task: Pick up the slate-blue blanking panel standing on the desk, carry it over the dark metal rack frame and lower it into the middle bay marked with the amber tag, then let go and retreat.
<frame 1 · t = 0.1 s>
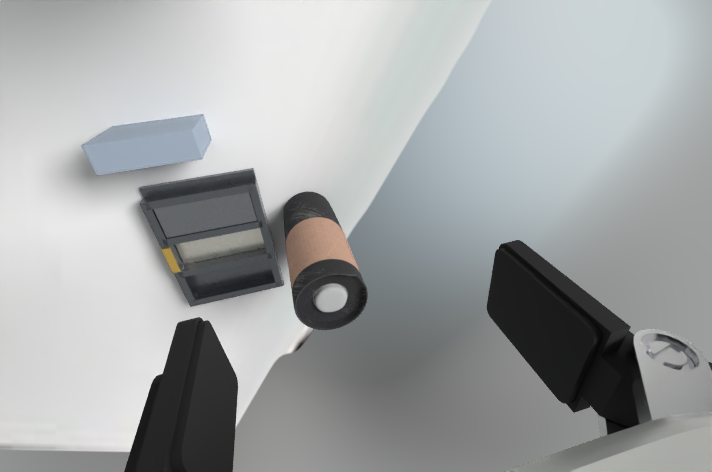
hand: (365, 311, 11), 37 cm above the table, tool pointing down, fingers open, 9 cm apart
panel: (164, 132, 39), on the table
travel mug: (307, 212, 49), on the table
rack: (222, 241, 48), on the table
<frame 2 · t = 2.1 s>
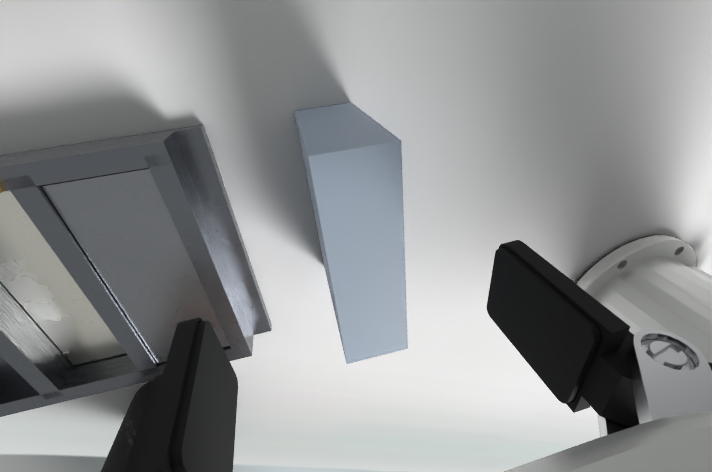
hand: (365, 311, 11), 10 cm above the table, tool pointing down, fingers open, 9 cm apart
panel: (335, 194, 20), on the table
travel mug: (185, 400, 26), on the table
rack: (64, 278, 19), on the table
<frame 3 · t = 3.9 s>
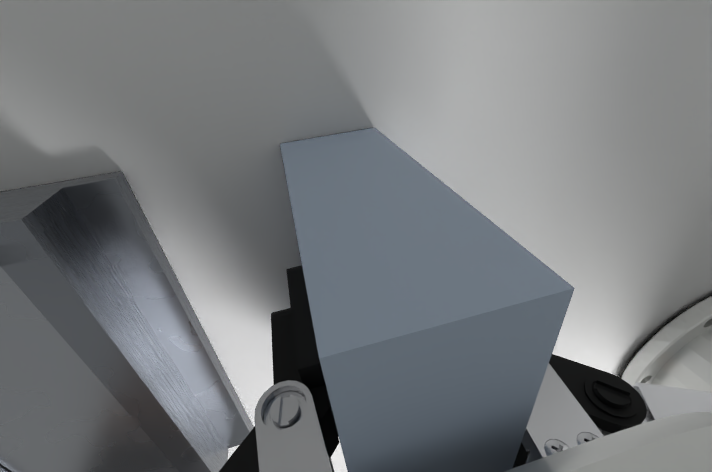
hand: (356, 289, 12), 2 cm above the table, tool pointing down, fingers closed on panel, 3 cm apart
panel: (346, 262, 13), on the table, touching gripper
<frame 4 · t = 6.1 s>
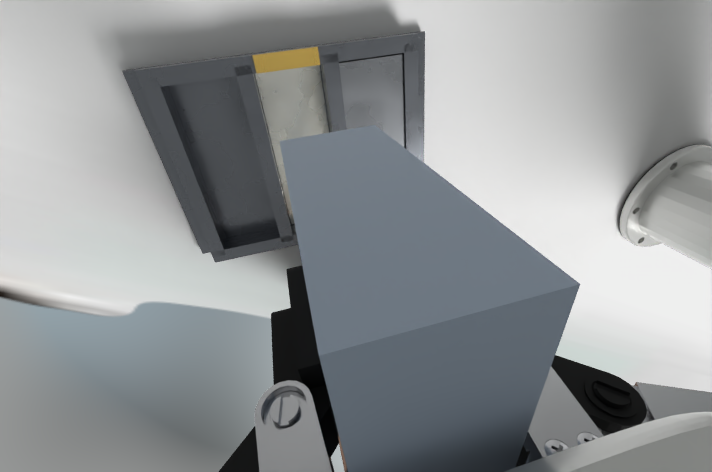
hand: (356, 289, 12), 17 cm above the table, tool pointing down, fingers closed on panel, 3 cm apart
panel: (346, 261, 13), point 16 cm above the table, touching gripper
rack: (302, 150, 26), on the table
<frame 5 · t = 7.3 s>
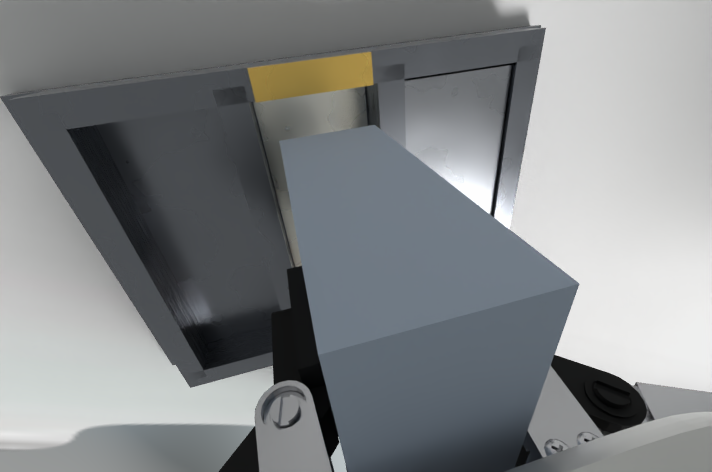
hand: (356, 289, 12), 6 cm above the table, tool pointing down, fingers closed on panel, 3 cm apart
panel: (346, 261, 13), point 4 cm above the table, touching gripper
rack: (328, 213, 16), on the table
when the fingers open (3 cm above the table, at t = 8.4 s): panel stays where it is, resting on rack.
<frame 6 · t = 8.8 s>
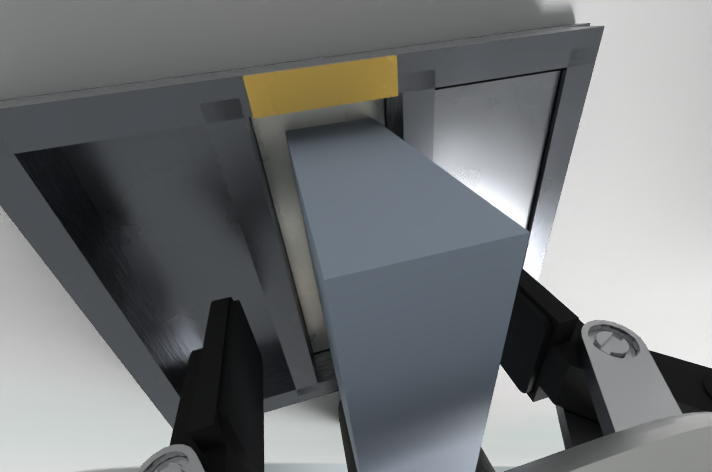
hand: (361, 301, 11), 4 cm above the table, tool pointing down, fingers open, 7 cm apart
panel: (345, 245, 14), point 1 cm above the table, touching rack
travel mug: (389, 394, 22), on the table
rack: (337, 239, 14), on the table
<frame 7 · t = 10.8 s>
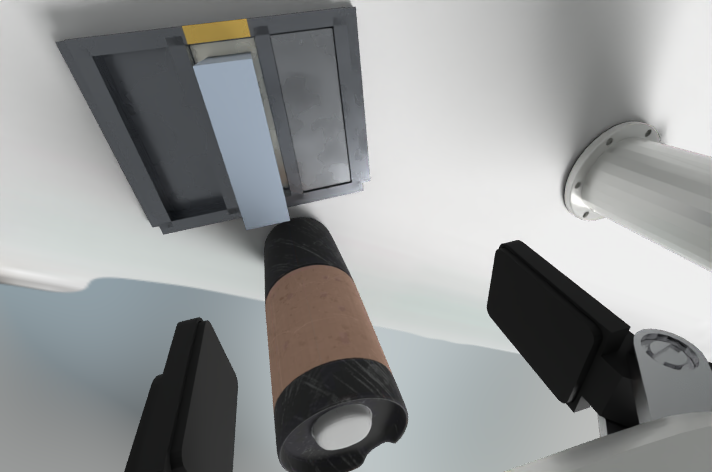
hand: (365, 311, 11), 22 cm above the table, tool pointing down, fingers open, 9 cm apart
panel: (248, 124, 26), point 1 cm above the table, touching rack
travel mug: (299, 246, 35), on the table
rack: (246, 124, 27), on the table
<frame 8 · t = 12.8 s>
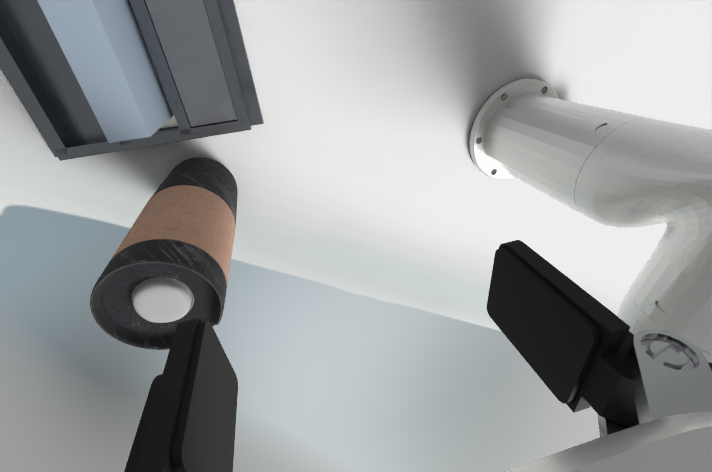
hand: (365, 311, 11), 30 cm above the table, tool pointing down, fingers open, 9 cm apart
panel: (133, 60, 29), point 1 cm above the table, touching rack
travel mug: (204, 187, 37), on the table
rack: (133, 61, 30), on the table
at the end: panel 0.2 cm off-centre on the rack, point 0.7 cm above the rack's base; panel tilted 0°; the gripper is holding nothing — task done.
